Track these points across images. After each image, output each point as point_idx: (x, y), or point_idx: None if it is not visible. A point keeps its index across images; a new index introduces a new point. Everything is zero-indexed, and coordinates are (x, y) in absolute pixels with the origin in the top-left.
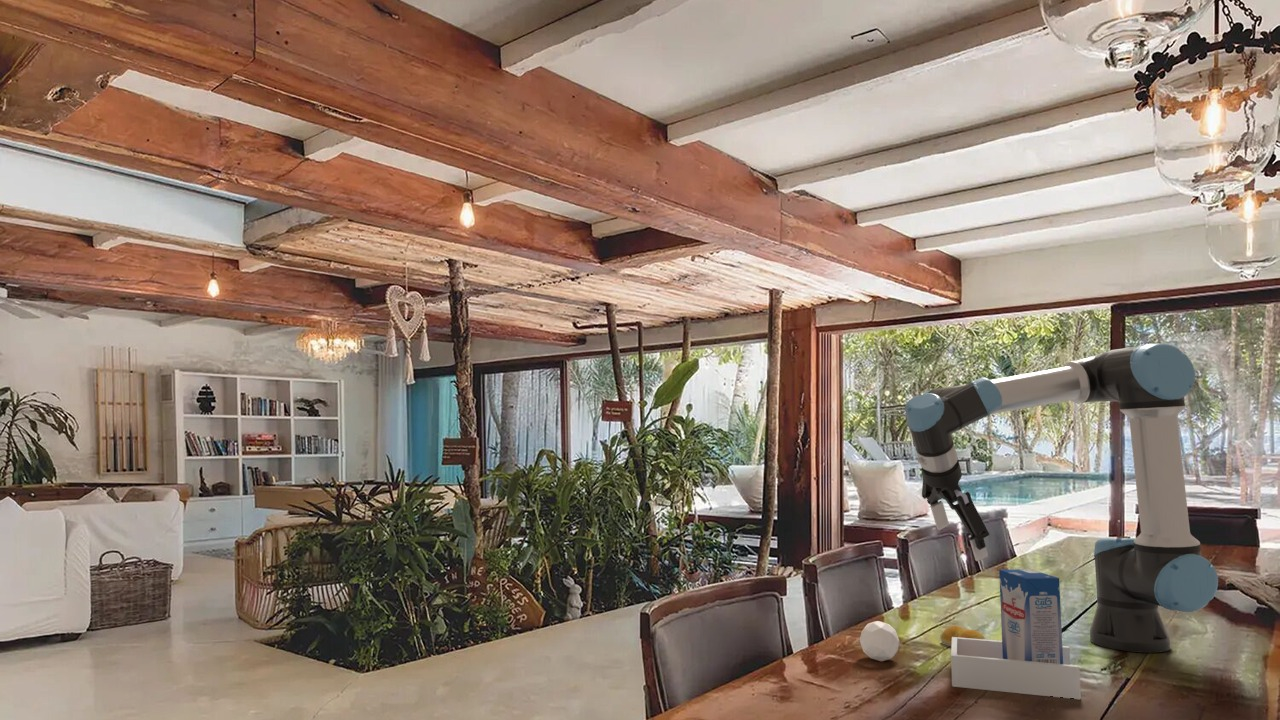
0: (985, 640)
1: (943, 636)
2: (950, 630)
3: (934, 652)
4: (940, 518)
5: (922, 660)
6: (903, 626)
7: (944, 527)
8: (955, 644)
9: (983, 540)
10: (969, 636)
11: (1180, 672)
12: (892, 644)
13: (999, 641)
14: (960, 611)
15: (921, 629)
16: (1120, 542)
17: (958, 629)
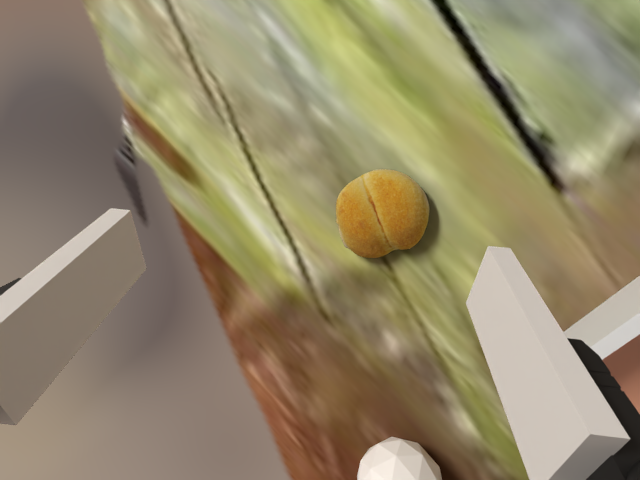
0: (601, 355)
1: (362, 256)
2: (365, 243)
3: (408, 319)
4: (95, 294)
5: (449, 394)
6: (232, 221)
7: (138, 239)
8: None
9: (634, 414)
10: (412, 229)
11: None
12: None
13: (634, 330)
14: (181, 27)
15: (259, 205)
16: None
17: (372, 226)
